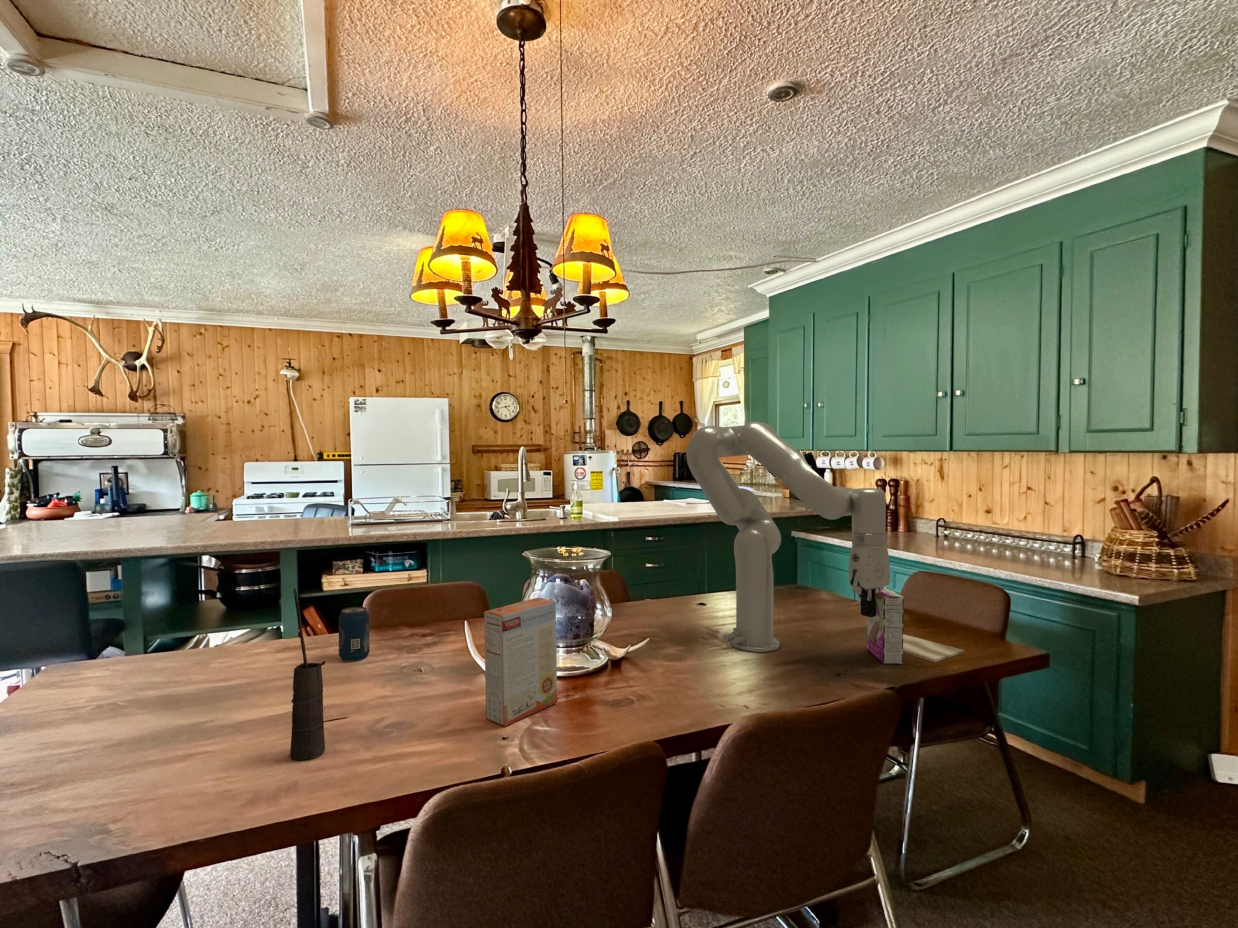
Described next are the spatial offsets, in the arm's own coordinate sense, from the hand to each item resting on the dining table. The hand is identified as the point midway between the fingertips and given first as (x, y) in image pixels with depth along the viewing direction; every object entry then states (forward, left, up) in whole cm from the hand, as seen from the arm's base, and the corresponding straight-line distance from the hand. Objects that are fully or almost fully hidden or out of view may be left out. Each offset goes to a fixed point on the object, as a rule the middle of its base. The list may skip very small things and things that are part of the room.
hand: (868, 615), depth 148 cm
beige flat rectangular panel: (+20, 0, -11) cm, 23 cm away
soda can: (-104, +70, -11) cm, 126 cm away
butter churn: (-118, +23, -11) cm, 120 cm away
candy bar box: (+6, 0, -11) cm, 13 cm away
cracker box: (-82, +19, -12) cm, 85 cm away
